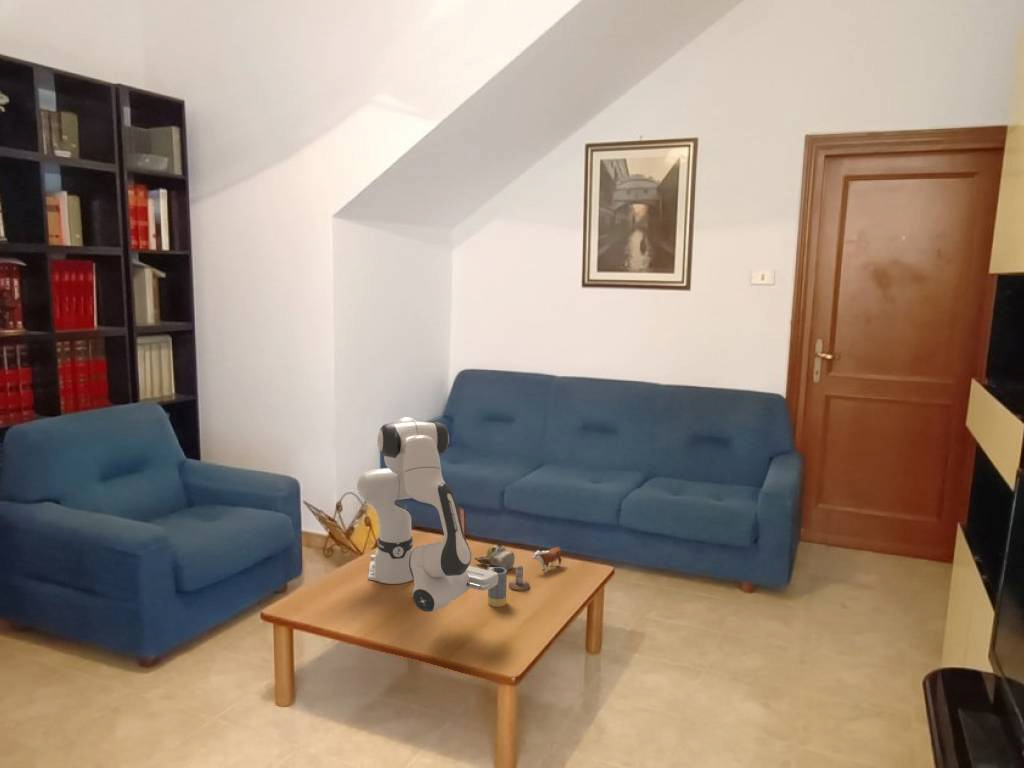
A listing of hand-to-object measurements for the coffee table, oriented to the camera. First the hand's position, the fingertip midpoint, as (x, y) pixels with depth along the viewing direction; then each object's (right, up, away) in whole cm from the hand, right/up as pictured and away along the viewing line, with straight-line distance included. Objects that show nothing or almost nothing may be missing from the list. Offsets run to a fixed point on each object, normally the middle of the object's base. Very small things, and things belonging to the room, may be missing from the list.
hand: (478, 566), depth 237 cm
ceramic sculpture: (+5, -11, +44) cm, 46 cm away
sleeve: (+5, -15, +13) cm, 21 cm away
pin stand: (+13, -13, +26) cm, 32 cm away
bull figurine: (+23, -11, +42) cm, 49 cm away
